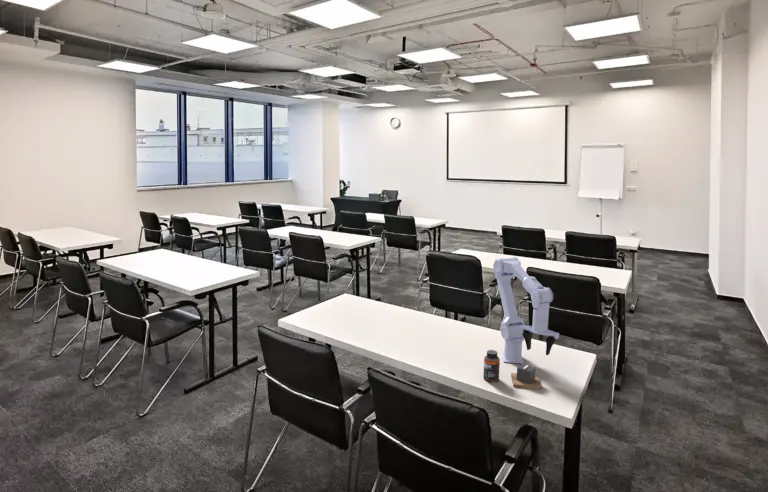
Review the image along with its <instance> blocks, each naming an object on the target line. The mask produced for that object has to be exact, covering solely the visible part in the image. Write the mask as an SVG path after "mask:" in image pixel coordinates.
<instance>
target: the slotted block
mask: <svg viewBox="0 0 768 492" xmlns="http://www.w3.org/2000/svg"><path fill="white" fill-rule="evenodd" d="M536 368H537V367H536V366H532V365H530V364H525V363H523V364H521V363H520V365H519V366H518V367H517V368H516V373H517V380H518V381H521V382H525V383H528V384H530V383H531V382H533V381H534V380H535V375H536V374H537V372H536V371H537V369H536Z"/></svg>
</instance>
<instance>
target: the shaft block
mask: <svg viewBox="0 0 768 492" xmlns="http://www.w3.org/2000/svg"><path fill="white" fill-rule="evenodd" d="M510 377H511V382H512V386H513V388H520V389H521V388H522V389H524V388H525V389H532V390H533V389H534V390H536V389H537V390H542V385H541V383H540V378H539V376H538V374H535V380H534V381H533V382H531V383H530V384H528V383H525V382H521V381H518V380H517V372H516V373H515V372H512V373H511V372H510Z"/></svg>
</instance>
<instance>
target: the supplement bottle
mask: <svg viewBox="0 0 768 492" xmlns="http://www.w3.org/2000/svg"><path fill="white" fill-rule="evenodd" d="M483 358H484V359H483V379H484V380H485V381H486V382H489V383H490V382H491V383H496V382H498V381H499V379H500V364H501V361H500V360H501V359H500V357H499V356H498V351H497V350H494V349H489V350H486V355H484V357H483Z"/></svg>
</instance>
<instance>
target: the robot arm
mask: <svg viewBox="0 0 768 492" xmlns="http://www.w3.org/2000/svg"><path fill="white" fill-rule="evenodd" d="M521 264H522V263H521V261H520V260H519V259H518V257H516V256H514V257H506V258H505V257H502V258H499V257H498V258H496V259H495V260H494V262H493V264H492V267H493V273H494V276H495V279H496V281H497V286H498V290H499V296H500V299H501V306H502V308H503V315H504V319H503V321H501V322H500V329H501V330H500V334H501V338H502V339H503V340H504V352H502V353H501V355H502V360H503V361H502V362H503V363H507V364H508V363H509V364H511V363H512V364H520V365H521V364H524V360H523V357H522V354H523V353H522V351H523V341H524V342H525V346H526V350H527V351H530V350H531V349H532V337H533V334H536V335H541V336H545V337H546V338H545V344H546V345H545V346H546V350H545V356H549V355H550V352H551V350H552V348H553V345H554V343H555V342H556V340H558V339H559V338H560V332H556V331H553V330H550V329H549V328H548V327H549V315H550V303H552V302H553V300H554V292H553V291H552V289H551V288H550V287H545V286H543V285H542V284H541V282H539V281H538V280H537V278H536V277H535V276H532V275H531V276H530V275H529V274H528V273H527V272H526V270H525V269H524V268H523V267H522V265H521ZM513 277H516V278H518V279H519V280H520V281H521V282H522V287H523V289H525V291H526V292H527V293H528V294H529V295H530V299H531V302H532V303H531V305H532V307H533V310H532V325H526V324H525V320H524V319H523V318H521V317H519V315H518V312H517V306H516V302H515V299H514V298H515V297H514V293H513V288H512V285H511V279H512V278H513Z"/></svg>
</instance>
